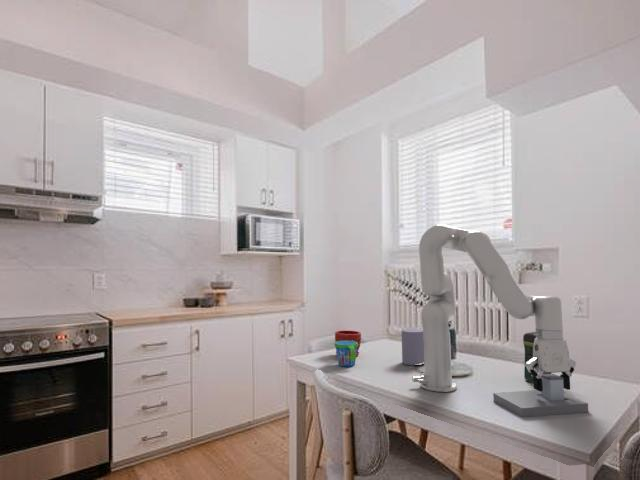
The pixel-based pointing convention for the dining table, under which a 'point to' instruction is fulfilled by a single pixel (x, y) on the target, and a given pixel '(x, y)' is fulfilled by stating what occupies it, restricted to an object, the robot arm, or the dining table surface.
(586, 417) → the dining table surface
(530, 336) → the coffee jar
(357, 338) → the plant pot
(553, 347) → the robot arm
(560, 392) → the block
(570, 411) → the grey board with hole
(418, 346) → the container
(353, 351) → the snack cup
